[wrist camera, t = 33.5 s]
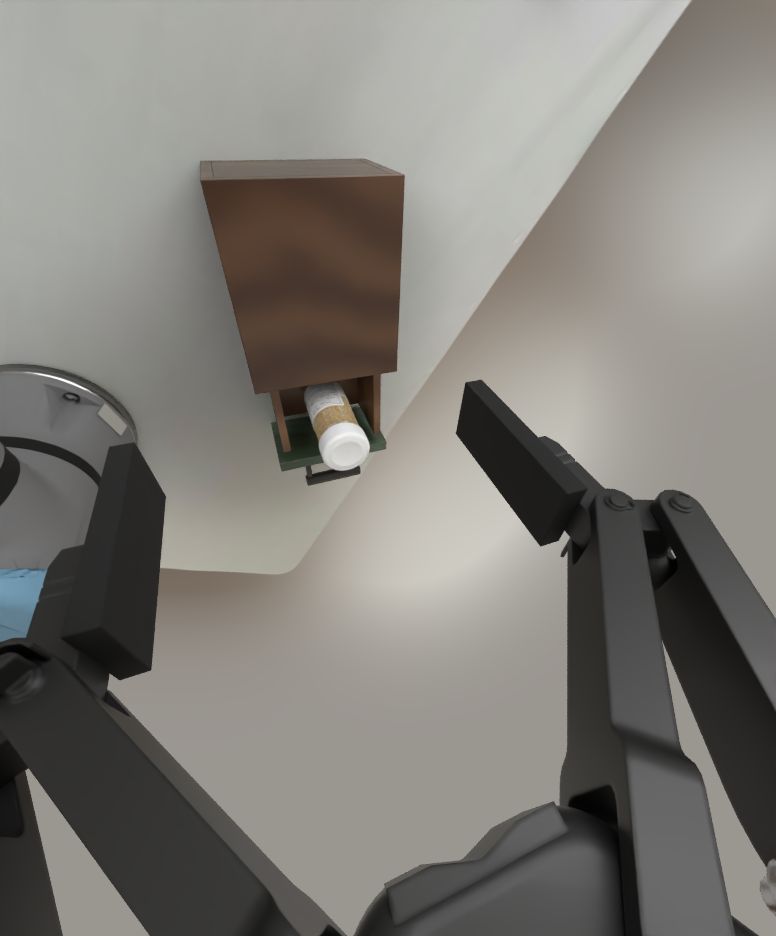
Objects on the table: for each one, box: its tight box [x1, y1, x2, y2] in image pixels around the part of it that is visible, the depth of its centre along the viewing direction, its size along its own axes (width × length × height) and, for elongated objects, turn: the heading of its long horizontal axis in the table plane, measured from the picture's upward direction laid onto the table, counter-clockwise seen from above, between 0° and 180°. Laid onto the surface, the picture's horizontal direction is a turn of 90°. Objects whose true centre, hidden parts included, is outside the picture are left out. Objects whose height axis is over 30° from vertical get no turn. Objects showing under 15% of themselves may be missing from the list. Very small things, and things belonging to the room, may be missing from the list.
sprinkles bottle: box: [299, 381, 370, 471], centre depth 40 cm, size 5×5×13 cm
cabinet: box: [200, 159, 405, 394], centre depth 34 cm, size 16×14×10 cm
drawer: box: [270, 374, 386, 486], centre depth 44 cm, size 20×12×8 cm, turn 0°
